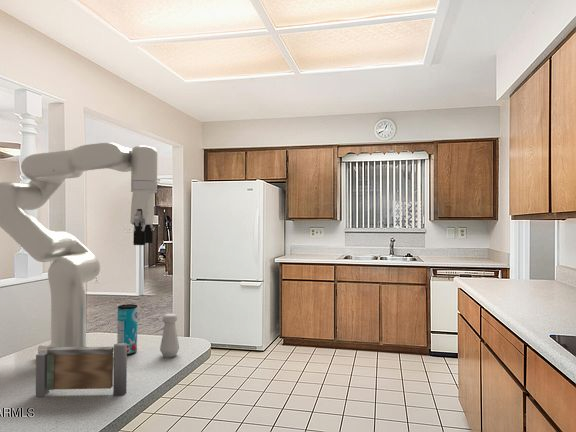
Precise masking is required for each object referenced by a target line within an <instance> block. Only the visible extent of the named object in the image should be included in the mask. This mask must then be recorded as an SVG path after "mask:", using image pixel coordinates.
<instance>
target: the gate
mask: <svg viewBox="0 0 576 432" xmlns="http://www.w3.org/2000/svg"><path fill="white" fill-rule="evenodd" d="M113 381H114V346H86V347H51V348H50V349H48V350H47V390H49V391H54V390H97V389H99V390H103V389H104V390H105V389H106V390H107V389H108V390H109V389H112V388H113Z"/></svg>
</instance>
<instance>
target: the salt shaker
mask: <svg viewBox="0 0 576 432" xmlns="http://www.w3.org/2000/svg"><path fill="white" fill-rule="evenodd" d="M177 320H178V316H177V314H176V313H166V314H164V315H163V317H162V323H164V326H163V333H162V336H161V341H160V347H159V351H160V353H161V355H162V357H163V358H166V359H168V358H175V357H176V356H177V354H178V352H179V349H180V343H179V337H178V331H177V327H176V322H177Z"/></svg>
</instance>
